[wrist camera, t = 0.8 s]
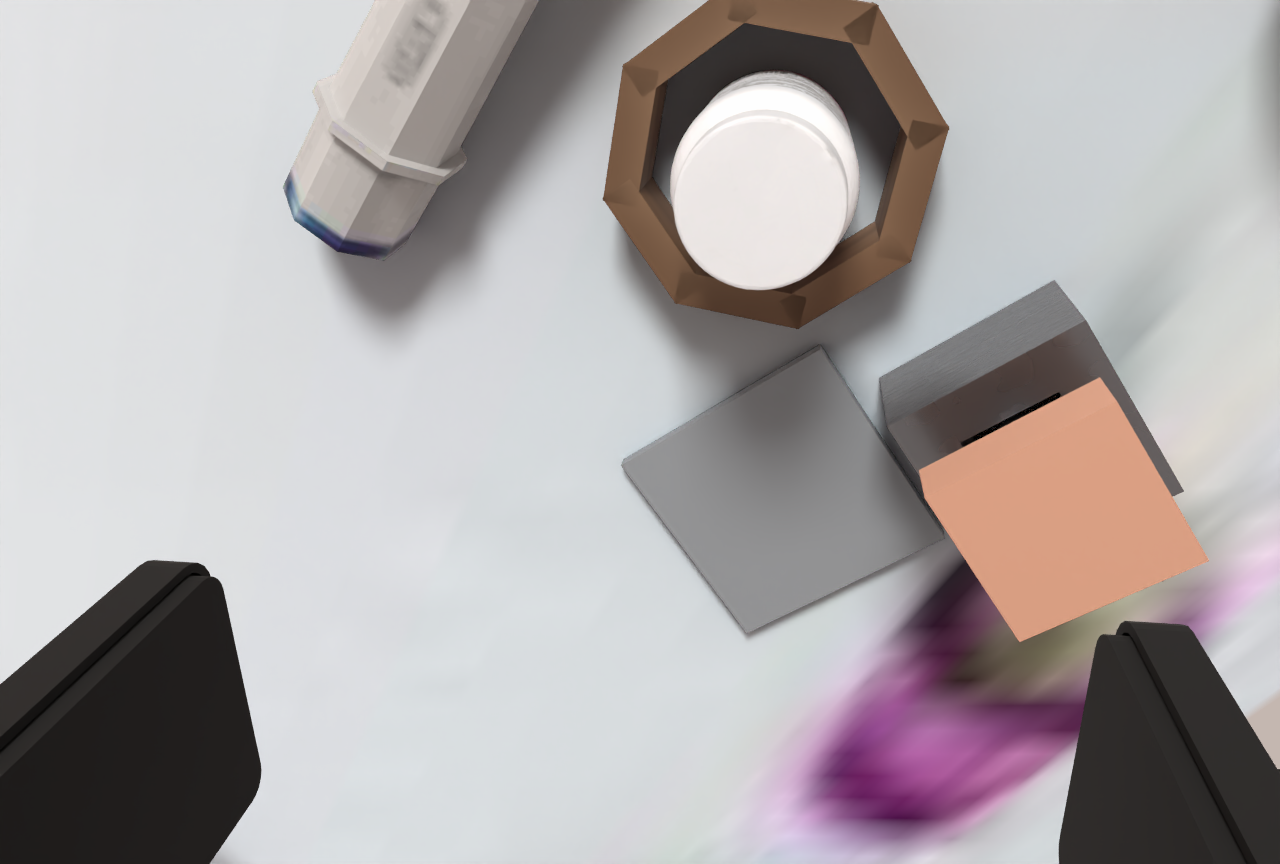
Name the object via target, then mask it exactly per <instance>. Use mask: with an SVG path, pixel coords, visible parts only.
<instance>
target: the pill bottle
mask: <svg viewBox="0 0 1280 864" xmlns="http://www.w3.org/2000/svg"><path fill="white" fill-rule="evenodd" d="M859 188H860V174H859V164H858V159H857V155H856V151H855V148H854V143H853V140H852V137H851V132H850V129H849V125H848V122H847V119H846V117H845V115H844V113H843V111H842V109H841V107H840V106H839V104H838V103H837V102H836V100H835V99H834V98H833V97H832V96H831V94H830V93H829V92H827V91H826V90H825V89H824V88H823V87H822V86H821V85H819V84H818V83H816V82H815V81H813V80H812V79H810V78H808V77H806V76H804V75H801V74H798V73H795V72H790V71H784V70H764V71H758V72H754V73H751V74H748V75H745V76H743V77H740V78H738V79H736V80H734V81H732V82H731V83H729V84H728V85H726V86H725V87H724V88H723V89H722V90H720V91H719V92H718V93H717V94H716V95H715V96H714V97H713V99H712V100H711V101H710V102H709V104H708V105H707V106H706V107H705V108H704V110H703V111H702V112H701V113H700V114H699V115H698V116H697V118H696V119H695V120H694V121H693V122H692V124H691V125H690V126H689V128H688V130H687V131H686V133H685V134H684V136H683V138H682V140H681V142H680V144H679V146H678V149H677V151H676V154H675V157H674V161H673V165H672V170H671V178H670V195H671V201H672V207H673V211H674V218H675V224H676V227H677V231H678V234H679V236H680V239H681V241H682V243H683V245H684V247H685V248H686V250H687V252H688V253H689V255H690V256H691V257H692V258H693V260H694V261H695V262H696V263H697V264H698V265H699V266H700V267H701V268H702V269H703V270H704V271H705V272H707V273H708V274H709V275H711V276H712V277H714V278H716V279H717V280H719V281H721V282H723V283H725V284H728V285H731V286H734V287H737V288H741V289H746V290H769V289H776V288H780V287H784V286H787V285H790V284H792V283H795V282H797V281H799V280H801V279H803V278H805V277H806V276H808V275H809V274H811V273H812V272H813V271H815V270H816V269H817V268H818V267H819V266H820V265H821V264H822V263H823V262H824V261H825V260H826V259H827V258H828V257H829V255H830V254H831V253H832V251H833V250H834V249H835V246H836V245H837V244H838V243H839V241H840V240H841V239H842V237H843V236H844V234H845V233H846V231H847V229H848V227H849V225H850V223H851V221H852V218H853V216H854V213H855V210H856V206H857V202H858V197H859Z"/></svg>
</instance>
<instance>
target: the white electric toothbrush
mask: <svg viewBox="0 0 1280 864" xmlns="http://www.w3.org/2000/svg"><path fill="white" fill-rule="evenodd" d="M538 2H539V0H375V2H374V3H373V5H372V7H371V9H370V11H369V13H368V15H367V17H366V19H365V21H364V22H363V24H362V26H361V28H360V30H359V32H358V34H357V36H356V38H355V40H354V41H353V43H352V45H351V47H350V49H349V51H348V53H347V55H346V57H345V59H344V60H343V62H342V64H341V66H340V68H339V70H338V72H337V73H336V74H334V75H331V76H329V77H327V78H324V79H322V80H319V81H317V82H316V84H315V87H314V89H313V94H314V97H315V99H316V102H317V104H318V107H319V111H318V113H317V115H316V117H315V119H314V121H313V123H312V126H311V128H310V130H309V132H308V134H307V136H306V138H305V141H304V143H303V145H302V147H301V149H300V151H299V153H298V156H297V158H296V160H295V162H294V164H293V166H292V168H291V171H290V173H289V175H288V177H287V179H286V181H285V183H284V186H283V189H284V192H285V195H286V198H287V201H288V204H289V207H290V209H291V212H292V215H293V218H294V220H295V221H296V222H297V223H299V224H300V225H301V226H303V227H304V228H306V229H307V230H308V231H310V232H311V233H312V234H314V235H315V236H317V237H318V238H319V239H321V240H322V241H323V242H325V243H326V244H328V245H329V246H330V247H332V248H333V249H334V250H336V251H337V252H342V253H347V254H352V255H357V256H362V257H367V258H372V259H378V260H383V261H384V260H385V259H387V258H388V257H389V256H390V255H392V254H393V253H394V252H395V251H397V250H398V249H399V248H401V247H402V246H403V245H404V244H405V243H406V242H407V240H408V238H409V236H410V235H411V233H412V231H413V229H414V228H415V226H416V224H417V222H418V221H419V219H420V217H421V215H422V214H423V212H424V210H425V208H426V207H427V205H428V203H429V202H430V200H431V198H432V196H433V195H434V193H435V191H436V189H437V188H438V186H439V185H440V184H441V183H443V182H444V181H446V180H447V179H448V178H450V177H451V176H452V175H454V174H455V173H457V172H458V171H459V170H461V169H462V168H463V167H464V165H465V163H466V161H467V160H468V159H467V157H466V155H465V153H464V151H463V149H462V147H461V145H462V143H463V141H464V140H465V138H466V136H467V134H468V132H469V130H470V128H471V127H472V125H473V123H474V121H475V119H476V117H477V115H478V114H479V112H480V110H481V108H482V106H483V104H484V102H485V100H486V99H487V97H488V95H489V93H490V91H491V89H492V87H493V86H494V84H495V82H496V80H497V78H498V76H499V74H500V73H501V71H502V69H503V67H504V65H505V63H506V61H507V59H508V58H509V56H510V54H511V52H512V50H513V48H514V46H515V45H516V43H517V41H518V39H519V37H520V35H521V33H522V32H523V30H524V28H525V26H526V24H527V22H528V20H529V19H530V17H531V15H532V13H533V11H534V9H535V7H536V5H537V4H538Z"/></svg>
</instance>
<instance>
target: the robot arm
mask: <svg viewBox="0 0 1280 864" xmlns="http://www.w3.org/2000/svg"><path fill="white" fill-rule="evenodd" d="M260 779H261V763H260V758H259V753H258V749H257V744H256V739H255V735H254V730H253V725H252V721H251V716H250V711H249V707H248V702H247V697H246V693H245V688H244V683H243V679H242V674H241V669H240V665H239V660H238V655H237V651H236V646H235V641H234V637H233V632H232V627H231V623H230V618H229V613H228V609H227V604H226V599H225V595H224V590H223V587H222V584H221V583H220V581H219V580H218V579H217V578H215V577H210V574H209V572H208V570H207V569H206V568H205V566H203V565H201V564H199V563H190V562H174V561H158V560H152V561H146V562H145V563H143V564H141V565H140V566H139V567H137V568H136V569H135V570H134V571H133V572H132V573H130V574H129V575H128V576H127V577H126V578H125V579H123V580H122V581H121V582H120V583H119V584H117V585H116V586H115V587H114V588H113V589H112V590H110V591H109V592H108V593H107V594H106V595H105V596H103V597H102V598H101V599H100V600H99V601H98V602H96V603H95V604H94V605H93V606H92V607H91V608H89V609H88V610H87V611H86V612H85V613H83V614H82V615H81V616H80V617H79V618H78V619H76V620H75V621H74V622H73V623H72V624H71V625H69V626H68V627H67V628H66V629H65V630H64V631H62V632H61V633H60V634H59V635H58V636H56V637H55V638H54V639H53V640H52V641H51V642H49V643H48V644H47V645H46V646H45V647H44V648H42V649H41V650H40V651H39V652H38V653H37V654H35V655H34V656H33V657H32V658H31V659H30V660H28V661H27V662H26V663H25V664H24V665H22V666H21V667H20V668H19V669H18V670H17V671H15V672H14V673H13V674H12V675H11V676H10V677H8V678H7V679H6V680H5V681H4V682H3V683H1V684H0V864H210V862H211V861H212V859H213V858H214V856H215V855H216V853H217V852H218V851H219V849H220V848H221V846H222V845H223V843H224V842H225V840H226V839H227V837H228V836H229V835H230V833H231V832H232V830H233V829H234V827H235V826H236V824H237V823H238V821H239V820H240V819H241V817H242V816H243V814H244V813H245V811H246V810H247V808H248V807H249V805H250V804H251V803H252V801H253V799H254V797H255V796H256V793H257V791H258V788H259V784H260ZM1059 864H1280V769H1277V768H1276V767H1275V765H1274V763H1273V761H1272V760H1271V758H1270V757H1269V755H1268V753H1267V752H1266V750H1265V749H1264V747H1263V745H1262V744H1261V742H1260V740H1259V739H1258V737H1257V735H1256V734H1255V732H1254V730H1253V729H1252V727H1251V726H1250V724H1249V723H1248V721H1247V719H1246V717H1245V716H1244V714H1243V712H1242V711H1241V709H1240V708H1239V706H1238V704H1237V703H1236V701H1235V699H1234V698H1233V696H1232V695H1231V693H1230V691H1229V690H1228V688H1227V686H1226V685H1225V683H1224V682H1223V680H1222V678H1221V677H1220V675H1219V673H1218V672H1217V670H1216V669H1215V667H1214V665H1213V664H1212V662H1211V660H1210V659H1209V657H1208V656H1207V654H1206V652H1205V651H1204V649H1203V647H1202V646H1201V644H1200V642H1199V641H1198V639H1197V638H1196V636H1195V634H1194V633H1193V631H1192V630H1191V629H1190V628H1189V627H1188V626H1186V625H1181V624H1165V623H1149V622H1133V621H1124V622H1123V623H1121V624H1120V626H1119V628H1118V629H1117V632H1116V635H1106V634H1103V635H1101V636H1100V637H1099V639H1098V641H1097V644H1096V648H1095V653H1094V658H1093V663H1092V669H1091V674H1090V679H1089V685H1088V690H1087V695H1086V701H1085V706H1084V711H1083V717H1082V722H1081V727H1080V733H1079V738H1078V743H1077V749H1076V754H1075V759H1074V765H1073V770H1072V775H1071V781H1070V786H1069V791H1068V797H1067V802H1066V807H1065V813H1064V818H1063V823H1062V829H1061V834H1060V840H1059Z"/></svg>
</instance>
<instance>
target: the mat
mask: <svg viewBox="0 0 1280 864" xmlns="http://www.w3.org/2000/svg"><path fill="white" fill-rule="evenodd" d="M621 466H622V468H623V469H624V470H625V472H626V473H627V474H628V476H629V477H630V478H631V480H632V481H633V482H634V484H635V485H636V486H637V488H638V489H639V490H640V492H641V493H642V494H643V496H644V497H645V498H646V500H647V501H648V502H649V504H650V505H651V506H652V508H653V509H654V510H655V512H656V513H657V514H658V516H659V517H660V518H661V520H662V521H663V522H664V524H665V525H666V526H667V528H668V529H669V530H670V532H671V533H672V534H673V536H674V537H675V538H676V540H677V541H678V542H679V544H680V545H681V546H682V548H683V549H684V550H685V552H686V553H687V554H688V556H689V557H690V558H691V560H692V561H693V562H694V564H695V565H696V566H697V568H698V569H699V570H700V572H701V573H702V574H703V576H704V577H705V578H706V580H707V581H708V583H709V584H710V585H711V587H712V588H713V589H714V591H715V592H716V593H717V595H718V596H719V597H720V599H721V600H722V601H723V603H724V604H725V605H726V607H727V608H728V609H729V611H730V612H731V613H732V615H733V616H734V617H735V619H736V620H737V621H738V623H739V624H740V625H741V627H742V628H743V629H744V631H745V632H746V633H749V632H751V631H753V630H755V629H757V628H759V627H761V626H763V625H766V624H768V623H770V622H772V621H774V620H776V619H778V618H780V617H782V616H784V615H786V614H788V613H790V612H793V611H795V610H797V609H799V608H801V607H803V606H805V605H807V604H809V603H811V602H813V601H815V600H817V599H820V598H822V597H824V596H826V595H828V594H830V593H832V592H834V591H836V590H838V589H840V588H842V587H844V586H847V585H849V584H851V583H853V582H855V581H857V580H859V579H861V578H863V577H865V576H867V575H869V574H871V573H873V572H876V571H878V570H880V569H882V568H884V567H886V566H888V565H890V564H892V563H894V562H896V561H898V560H900V559H903V558H905V557H907V556H909V555H911V554H913V553H915V552H917V551H919V550H921V549H923V548H925V547H927V546H930V545H932V544H934V543H936V542H938V541H940V540H942V539H944V538H945V536H944V532H943V530H942V528H941V527H940V525H939V524H938V522H937V521H936V519H935V518H934V516H933V515H932V513H931V512H930V510H929V508H928V507H927V505H926V504H925V502H924V501H923V499H922V498H921V496H920V495H919V493H918V492H917V490H916V489H915V487H914V486H913V484H912V483H911V481H910V480H909V478H908V477H907V475H906V474H905V472H904V471H903V469H902V468H901V466H900V464H899V463H898V461H897V460H896V458H895V457H894V455H893V454H892V452H891V451H890V449H889V448H888V446H887V445H886V443H885V442H884V440H883V439H882V437H881V436H880V434H879V433H878V431H877V430H876V428H875V427H874V425H873V424H872V422H871V420H870V419H869V417H868V416H867V414H866V413H865V411H864V410H863V408H862V407H861V405H860V404H859V402H858V401H857V399H856V398H855V396H854V395H853V393H852V392H851V390H850V389H849V387H848V386H847V384H846V383H845V381H844V380H843V378H842V376H841V375H840V373H839V372H838V370H837V369H836V367H835V366H834V364H833V363H832V361H831V360H830V358H829V357H828V355H827V354H826V352H825V351H824V349H823V348H822V346H821V345H818V346H817V347H815V348H813V349H811V350H810V351H808V352H806V353H805V354H803V355H801V356H799V357H798V358H796V359H794V360H793V361H791V362H789V363H788V364H786V365H784V366H782V367H781V368H779V369H777V370H776V371H774V372H772V373H770V374H769V375H767V376H765V377H764V378H762V379H760V380H758V381H757V382H755V383H753V384H752V385H750V386H748V387H747V388H745V389H743V390H741V391H740V392H738V393H736V394H735V395H733V396H731V397H729V398H728V399H726V400H724V401H723V402H721V403H719V404H717V405H716V406H714V407H712V408H711V409H709V410H707V411H706V412H704V413H702V414H700V415H699V416H697V417H695V418H694V419H692V420H690V421H688V422H687V423H685V424H683V425H682V426H680V427H678V428H676V429H675V430H673V431H671V432H670V433H668V434H666V435H665V436H663V437H661V438H659V439H658V440H656V441H654V442H653V443H651V444H649V445H647V446H646V447H644V448H642V449H641V450H639V451H637V452H635V453H634V454H632V455H630V456H629V457H627V458H625V459H624V460H623V462H622V464H621Z"/></svg>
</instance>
